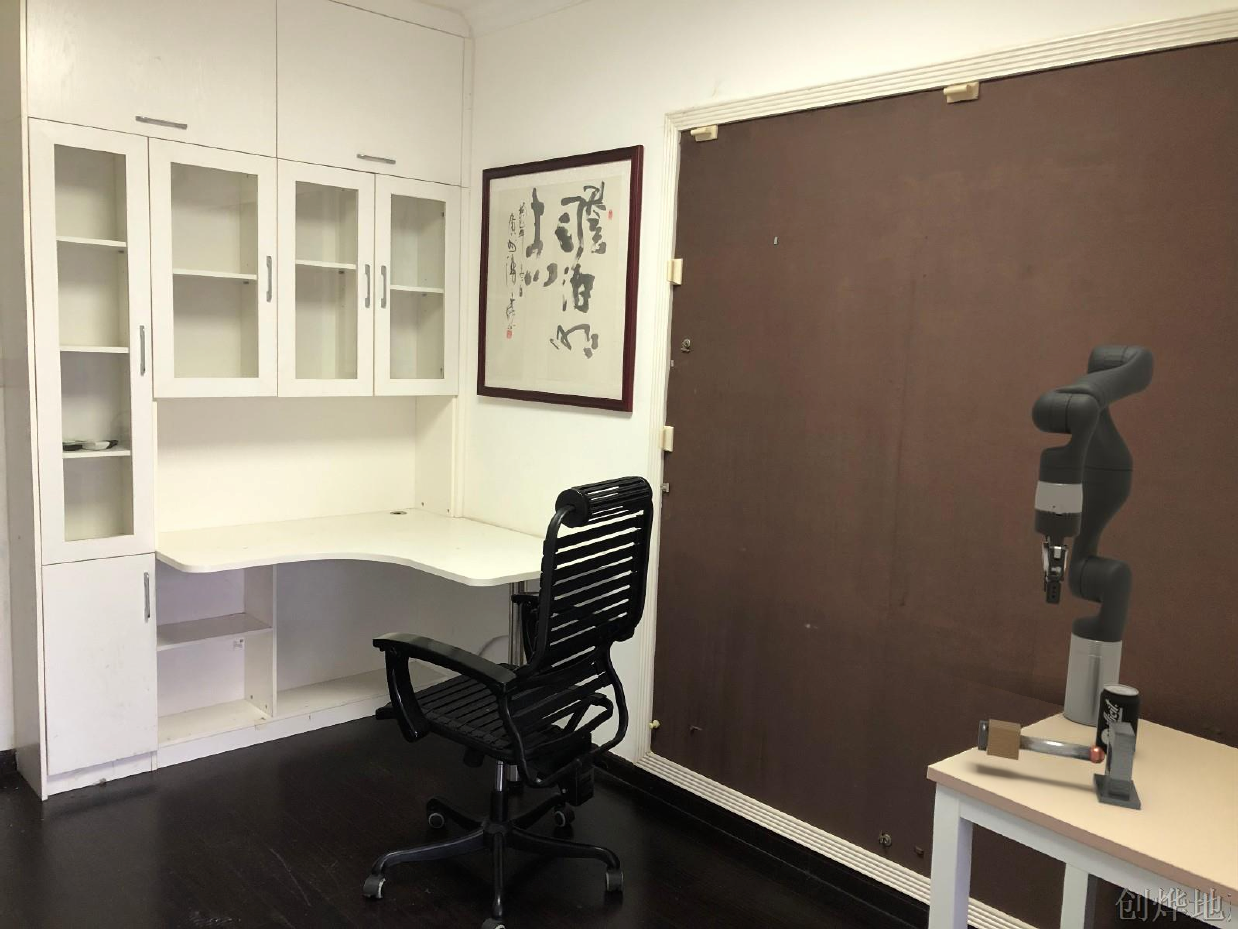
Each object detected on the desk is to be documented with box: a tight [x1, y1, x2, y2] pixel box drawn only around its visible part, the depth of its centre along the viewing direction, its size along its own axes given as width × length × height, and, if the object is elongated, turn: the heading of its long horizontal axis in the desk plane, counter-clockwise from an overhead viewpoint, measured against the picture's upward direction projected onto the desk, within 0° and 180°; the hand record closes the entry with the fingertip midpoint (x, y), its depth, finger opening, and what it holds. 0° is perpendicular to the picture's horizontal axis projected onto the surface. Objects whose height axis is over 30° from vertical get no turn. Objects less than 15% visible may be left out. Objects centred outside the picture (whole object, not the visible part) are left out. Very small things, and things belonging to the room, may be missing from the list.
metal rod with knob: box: [977, 718, 1106, 765], centre depth 164 cm, size 20×5×5 cm, turn 69°
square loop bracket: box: [1092, 720, 1142, 811], centre depth 160 cm, size 10×6×11 cm, turn 159°
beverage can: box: [1095, 683, 1141, 755], centre depth 178 cm, size 7×7×12 cm
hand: (1051, 597), depth 171 cm, fingers open, 8 cm apart
